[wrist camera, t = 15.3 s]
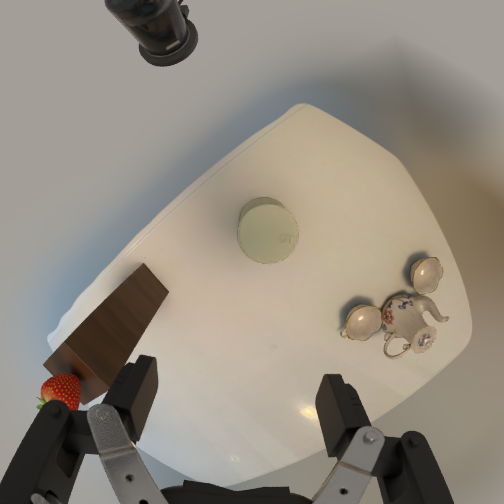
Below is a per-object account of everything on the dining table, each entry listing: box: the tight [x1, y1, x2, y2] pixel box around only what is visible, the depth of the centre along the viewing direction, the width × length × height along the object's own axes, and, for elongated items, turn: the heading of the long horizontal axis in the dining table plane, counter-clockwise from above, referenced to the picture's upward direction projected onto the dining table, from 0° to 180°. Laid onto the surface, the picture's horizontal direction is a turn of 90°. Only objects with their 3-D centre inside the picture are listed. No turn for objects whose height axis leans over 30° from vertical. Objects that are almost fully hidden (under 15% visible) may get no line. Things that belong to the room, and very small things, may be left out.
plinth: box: [43, 263, 169, 405], centre depth 42 cm, size 8×8×30 cm
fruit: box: [37, 373, 81, 410], centre depth 23 cm, size 5×5×8 cm
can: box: [237, 197, 299, 264], centre depth 47 cm, size 9×9×12 cm
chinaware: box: [340, 257, 449, 359], centre depth 50 cm, size 28×17×17 cm, turn 130°
